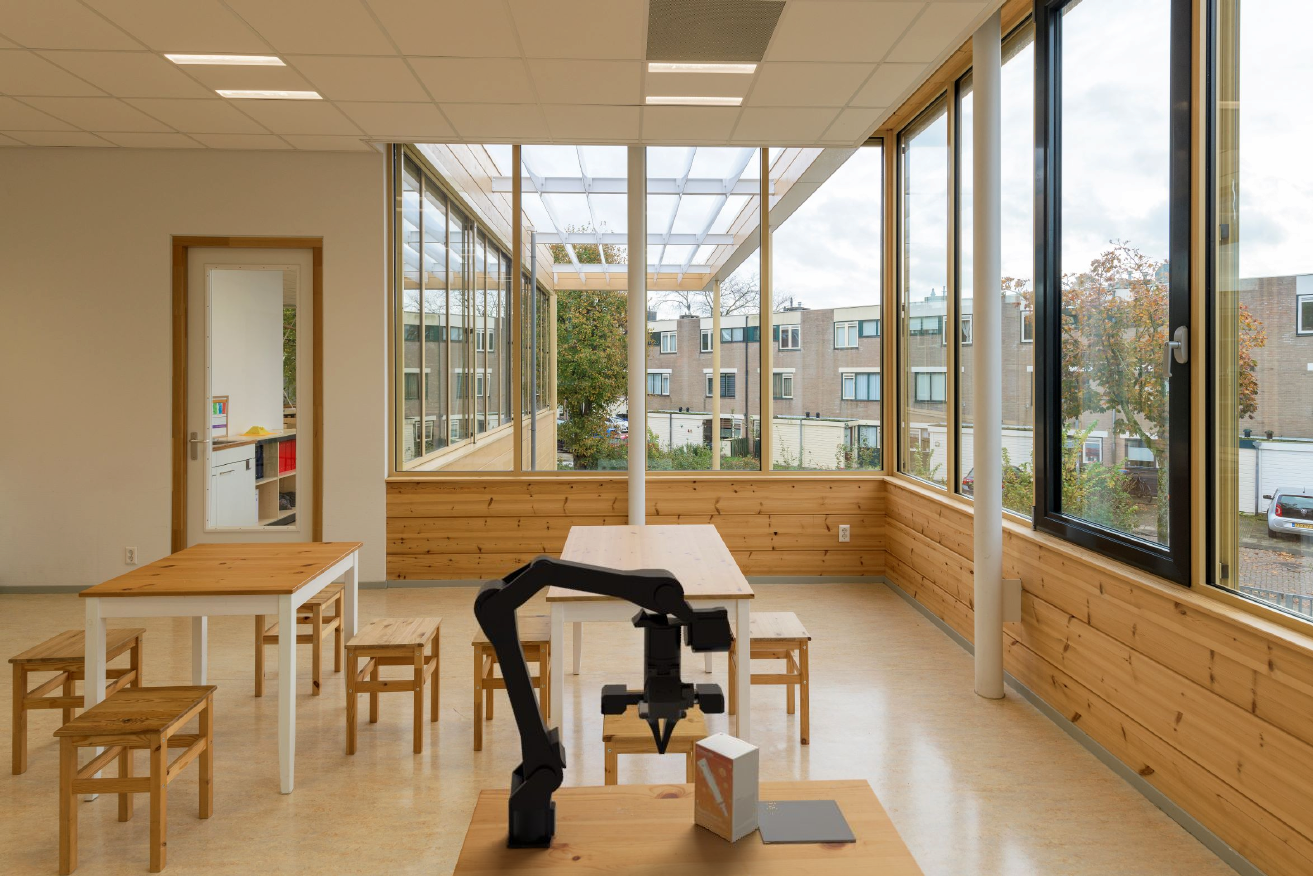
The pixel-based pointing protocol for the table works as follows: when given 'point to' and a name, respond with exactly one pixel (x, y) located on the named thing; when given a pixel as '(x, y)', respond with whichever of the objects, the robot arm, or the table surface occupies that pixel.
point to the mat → (803, 822)
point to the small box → (726, 786)
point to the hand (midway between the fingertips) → (661, 753)
